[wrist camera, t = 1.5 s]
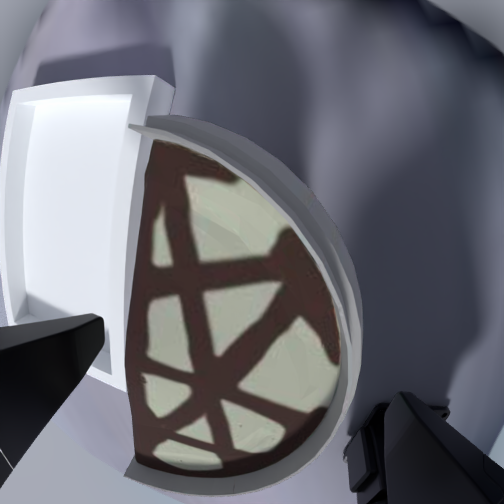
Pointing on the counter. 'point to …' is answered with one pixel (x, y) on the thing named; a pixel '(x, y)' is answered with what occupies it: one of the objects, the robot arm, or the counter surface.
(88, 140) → the tray
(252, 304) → the food container
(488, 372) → the counter surface
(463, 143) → the counter surface
